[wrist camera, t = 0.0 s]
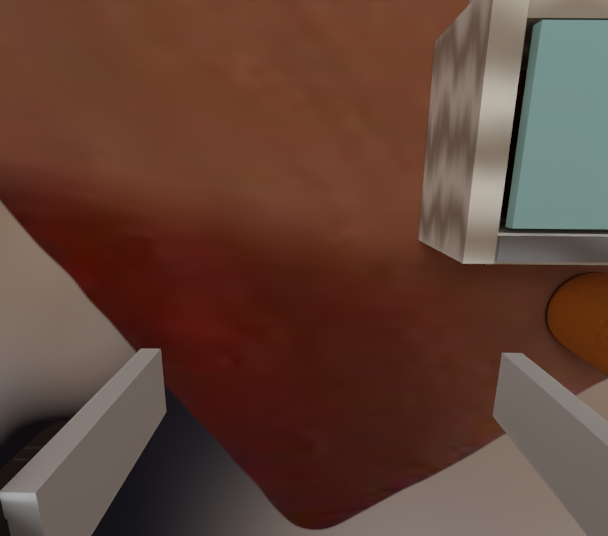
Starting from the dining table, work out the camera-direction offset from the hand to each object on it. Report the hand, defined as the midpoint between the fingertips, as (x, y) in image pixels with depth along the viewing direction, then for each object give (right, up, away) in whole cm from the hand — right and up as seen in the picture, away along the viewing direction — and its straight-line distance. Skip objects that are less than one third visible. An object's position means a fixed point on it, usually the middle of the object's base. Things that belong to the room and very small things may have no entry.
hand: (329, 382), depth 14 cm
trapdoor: (+22, +14, +13) cm, 29 cm away
